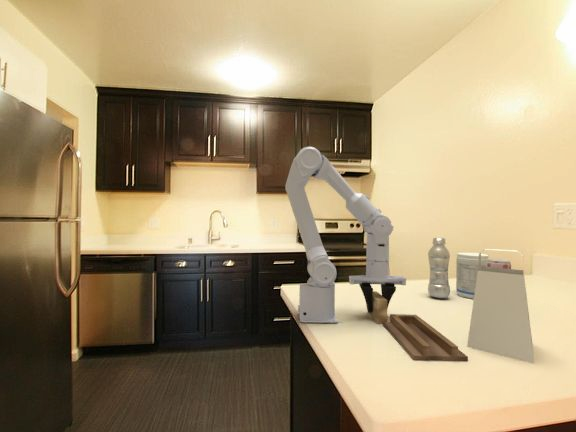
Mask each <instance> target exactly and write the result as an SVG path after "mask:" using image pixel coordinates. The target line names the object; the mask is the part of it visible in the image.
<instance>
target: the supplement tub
mask: <svg viewBox="0 0 576 432" xmlns="http://www.w3.org/2000/svg"><path fill="white" fill-rule="evenodd" d="M480 253H481V252H463V251H462V252H457V253H456V267H455V268H456V273H455V275H456V277H455V279H456V281H455V282H456V287H455V288H456V290H455V292H456V295H458V296H460V297H463V298H467V299H471V300H474V294H475V287H476V279H477V272H478V270H479V254H480ZM488 259H489V255H488V254H485V253H481V267H482V266H483V267H487V261H488Z"/></svg>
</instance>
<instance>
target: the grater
mask: <svg viewBox="0 0 576 432" xmlns="http://www.w3.org/2000/svg"><path fill="white" fill-rule="evenodd" d="M485 250H486V251H498V252H499V251H500V252H501V251H502V252H515V253H516V252H517V253H518V254H519V255H520V256H521V257H522V259H523V260H522V261H523V263H524V255H523V253H521V252H520V251H519V250H517V249H500V248H484V249H483V250H482V252H484V251H485ZM482 252H479V253H480V254H479V270H478V272H477V279H476V287H475V294H474V299H473V302H472V309H471V316H470V324H469V331H468V337H467V344H466V345H467V346H466V347H467V348H471V349H474V350H479V351H482V352H485V353H490V354H494V355H499V356H503V357H505V358H510V359H514V360H518V361H522V362H527V363H530V364H534V363H535V361H534V345H533V344H534V343H533V335H532V330H531V329H532V328H531V320H530V312H529V304H528V296H527V287H526V281H525V272H524V269H513V268H511V269H504V268H494V267H483V266H482V267H481V254H482Z"/></svg>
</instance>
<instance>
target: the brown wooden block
mask: <svg viewBox="0 0 576 432" xmlns="http://www.w3.org/2000/svg"><path fill="white" fill-rule="evenodd" d="M367 314H368V315H369V316H370V317H371V318H372V320H373V322H375V323H376V325H383V321H388V309H387V300H386V299H385V298H384V297H383V296H382V294H381V293H379V292H378V291H376V290H375V291H374V290H373V294H372V313H369V312H368V311H367Z"/></svg>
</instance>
